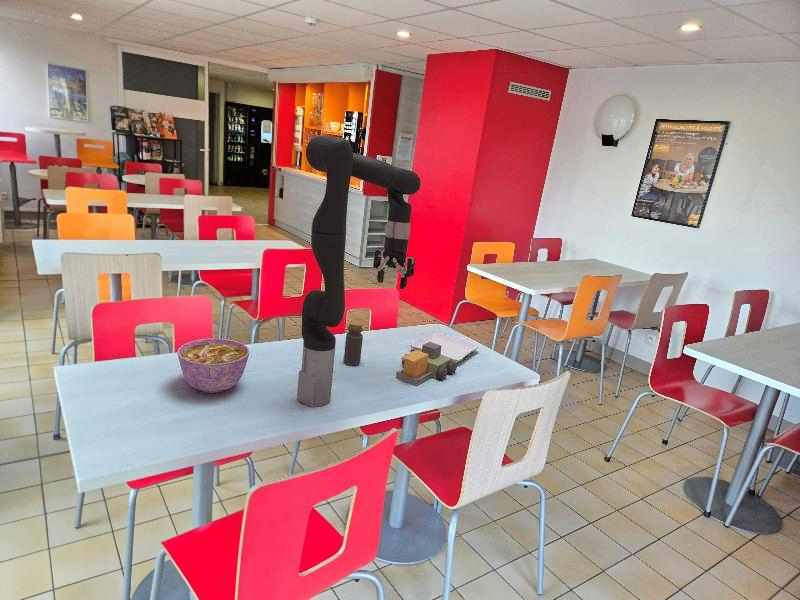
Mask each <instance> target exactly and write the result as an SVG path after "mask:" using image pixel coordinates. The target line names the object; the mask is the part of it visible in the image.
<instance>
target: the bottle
mask: <svg viewBox="0 0 800 600" xmlns="http://www.w3.org/2000/svg"><path fill="white" fill-rule="evenodd" d="M347 331H348V332H347V333H345V334H346V335H345V343H344V344H345V345H344V351H343V354H344V355H343V364H344V365H346V366H350V367H357V366H360V364H361V360H362V359H361V356H362V349H363V341H364V340H363V338H364V336H363V334H362V332H363V322H361V321H358V320H351V321H350V320H349V322H348V327H347Z"/></svg>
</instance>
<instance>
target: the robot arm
mask: <svg viewBox="0 0 800 600" xmlns="http://www.w3.org/2000/svg"><path fill="white" fill-rule="evenodd" d="M353 151H354V150H353V147H352V144H351V143H350V142H349V140H348V139H346V138H343V137H340V136H330V135H318V136H315V137H313V138H312V139H310V140H309V141H308V143H307V145H306V148H305V158H306V161H307V162H308V165H310V166H311V168H313V169H314V170H316V171H318V172H321V173H325V174H326V183H325V184H326V186H325V191H324V192H325V193H324V196H323V198H322V201H321V203H320V205H319V206H318V208H317V211H316V212H315V214H314V217H313V219H312V223H311V232H310V233H311V237H310V238H311V239H310V242H311V243H310V245H311V250H312V254H313V257H314V259H315V261H316V263H317V266H318V268H319V270H320V272H321V275H322V276H323V277H322V278H323V283H324V290H320V289H312V290H310V291H309V292H307V293H306V295H305V297H304V300H303V303H302V307H301V337H302V340H303V341H302V342H303V343H302V346H303V347H302V357H301V369H300V370H299V372H298V380H297V381H298V382H297V394H296V401H298V402H299V403H301V404H303V405H306V406H308V407H310V408H314V407H322V406H325V405H327V404H329V403H330V402H331V399H332V398H331V397H332V389H333V388H332V387H333V376H334V366H335V365H334V364H335V354H336V344H337V343H336V341H337V340H336V339H337V338H336V336H335V335H334V333H332V332H331V331H330V330H329V329H328V328H336V327H338V326H339V325H340V324H341V323H342V321H343V319H344V315H345V310H346V293H345V291H346V290H345V288H346V287H345V251H346V241H347V240H346V239H347V215H348V214H347V213H348V200H349V192H350V185H351V184H350V183H351V178H355V179H358V180H360V181H362V182H363V181H364V182H365V183H368V184H371V185H374V186H376V187H381V188H384V189H386V192H387V193H386V194H387V202H388V216H387V221H386V224H385V225H386V227H385V235H384V243H383V249H384V250H383V249H377V250H375V253H374V257H373V265H372V267H373V268H374V269H376V271H377V276H376V279H377V283H379V284H381V283H384V279H385V269H386V268H387V267H388V268H393V269H396V270H397V272H399V274H400V276H401V277H400V280H399V281H400V283H399V290H404V289H406V288H407V285H408V278H411V277H414V275H415V265H416V264H415V263H416V258H415V257H408V256H407V253H408V248H409V240H410V235H411V234H410V231H411V219H412V218H411V217H412V208H413V207H412V205H411V204H410V203H409V202H407V201H406V200H405V198H404V195H407V196H412V195H415V194H416V193H418V192H419V191H420V189H421V185H422V183H421V182H422V181H421V177H420V176H419V174H418V173H416V172H414V171H413V170H409V169H405V168H401V167H397V166H396V165H392V164H391V163H388V162H386V161H383V160H382V159H381V160H380V159H377V158H374V157H372V156H367V155H362V154H359V153H355V152H353ZM382 257H383V260H382ZM327 327H328V328H327Z"/></svg>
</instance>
